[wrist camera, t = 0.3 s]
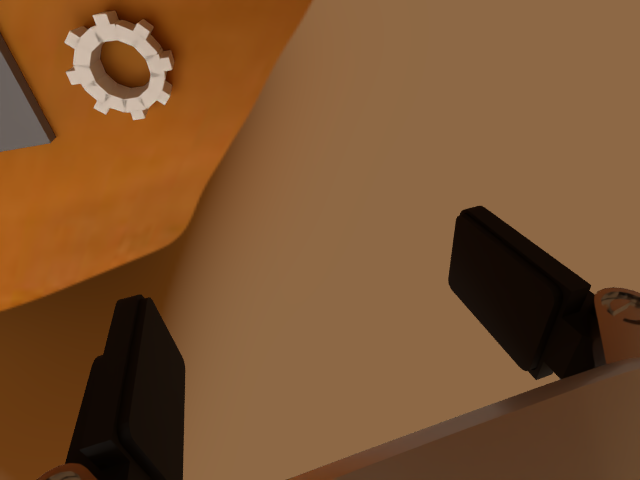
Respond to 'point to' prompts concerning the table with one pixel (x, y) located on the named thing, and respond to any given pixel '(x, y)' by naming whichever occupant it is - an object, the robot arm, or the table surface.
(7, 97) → the gear board
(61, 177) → the table surface
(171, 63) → the gear
